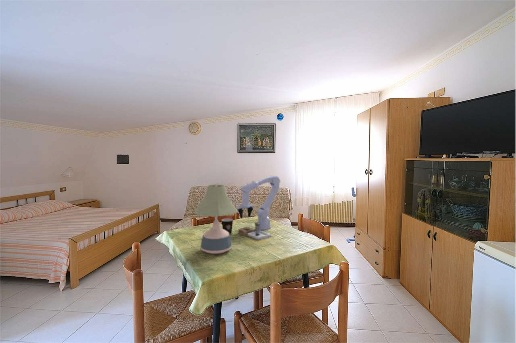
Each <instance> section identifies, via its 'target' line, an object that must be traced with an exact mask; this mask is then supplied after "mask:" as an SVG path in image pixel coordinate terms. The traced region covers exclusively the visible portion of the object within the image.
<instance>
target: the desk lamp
mask: <svg viewBox="0 0 516 343" xmlns="http://www.w3.org/2000/svg"><path fill="white" fill-rule="evenodd" d="M194 214H195V215H197V216H201V217H202V216H205V217H206V216H207V217H214V220H213V221H212V227H211V228H210V229H209V230H207V231H205V232H204V233H203V235H202V238H201V244H200V249H201V251H202V252H204V253H207V254H210V255H220V254H223V253H226V252H228V251H230V249H232V246H233V244H232V239H231V235H230V234H229V232H227V231H225V230H224V229H223V227H221V223H220V221H219V220H218V219H219V218H218V217H224V216H229V215H230V216H231V215H233V214H239V212H238V210H237V207H235V205H234V204H233V203H232V201H231V200H230V198H229V196H228V194H227V191H226V187H225V185H223V184H218V182H215V183H214V184H209V185H208V186H207V189H206V191H205V194H204V197H203V199H202V201H201V202H200V204H199V205H198V206H196V208H195V209H194Z"/></svg>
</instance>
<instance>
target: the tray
mask: <svg viewBox="0 0 516 343" xmlns="http://www.w3.org/2000/svg"><path fill="white" fill-rule="evenodd" d="M271 235H272V234H271V233H268V232H266V231H264V230H260V235H259V236H256V235H255V232H251V233H248V235H247V237H249V238H252V239H254V240H257V241H259V240H263V239H267V238H271Z"/></svg>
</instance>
